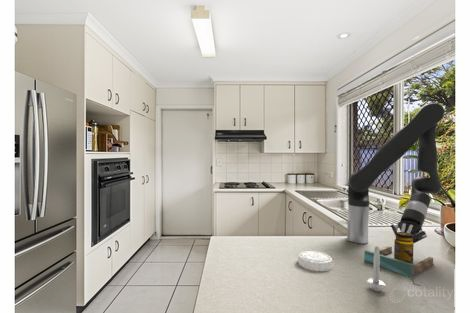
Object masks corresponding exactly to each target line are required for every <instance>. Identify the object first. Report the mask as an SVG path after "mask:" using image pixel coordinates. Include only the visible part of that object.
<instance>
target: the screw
mask: <svg viewBox="0 0 470 313" xmlns="http://www.w3.org/2000/svg"><path fill="white" fill-rule="evenodd" d="M373 249H374V250H373V251H374V255H373V256H374V257H373V258H374V259H373V260H374V261H373V262H374V263H373V264H372V266H373V267H372V270H373V271H372V277H371V278H368V279H367V280H366V283H367V284H368V285H370V290H372V291H374V292H381V289H382V288H386V284H385V282H384V281H383V280H381V279H380V276H381V273H380V272H381V271H380V270H381V267H380V265H379V264H380V263H379V262H380V257H379V256H380V255H379V249H380V247H379V246H374V248H373Z"/></svg>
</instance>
